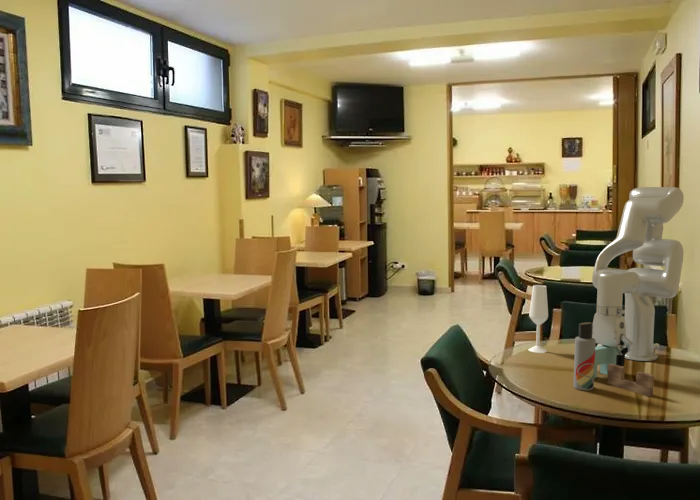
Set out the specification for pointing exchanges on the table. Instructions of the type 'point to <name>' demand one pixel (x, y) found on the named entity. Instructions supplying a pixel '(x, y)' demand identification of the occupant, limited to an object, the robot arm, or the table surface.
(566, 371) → the table surface
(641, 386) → the brown u-shaped block
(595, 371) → the teal notched bracket
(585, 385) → the lotion bottle
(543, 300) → the champagne flute
